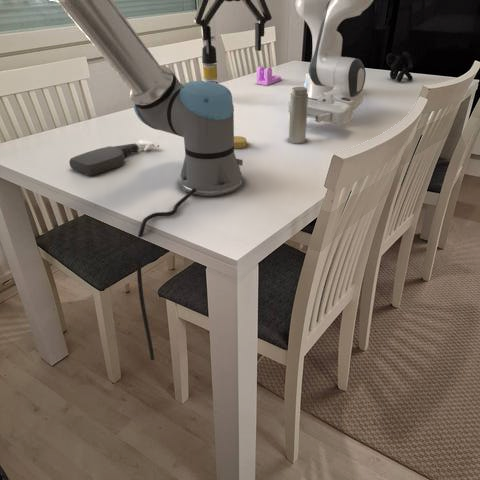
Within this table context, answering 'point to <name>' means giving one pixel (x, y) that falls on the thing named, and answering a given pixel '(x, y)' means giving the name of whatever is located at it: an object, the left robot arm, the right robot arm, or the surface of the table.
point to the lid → (239, 142)
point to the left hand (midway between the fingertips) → (233, 51)
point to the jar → (298, 115)
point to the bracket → (266, 76)
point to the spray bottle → (106, 157)
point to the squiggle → (399, 66)
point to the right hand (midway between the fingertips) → (304, 116)
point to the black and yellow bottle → (209, 64)
